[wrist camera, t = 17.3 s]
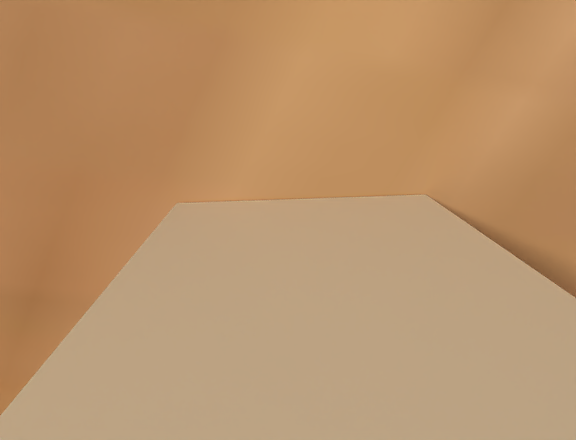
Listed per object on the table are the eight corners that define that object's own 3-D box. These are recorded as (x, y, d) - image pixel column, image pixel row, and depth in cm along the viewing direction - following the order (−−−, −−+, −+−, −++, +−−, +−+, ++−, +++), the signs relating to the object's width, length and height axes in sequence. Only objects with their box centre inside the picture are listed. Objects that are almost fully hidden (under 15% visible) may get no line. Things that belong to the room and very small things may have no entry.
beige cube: (176, 202, 11) (-85, 516, 3) (425, 194, 12) (816, 465, 3) (202, 399, 14) (99, 860, 6) (405, 389, 14) (594, 816, 6)
